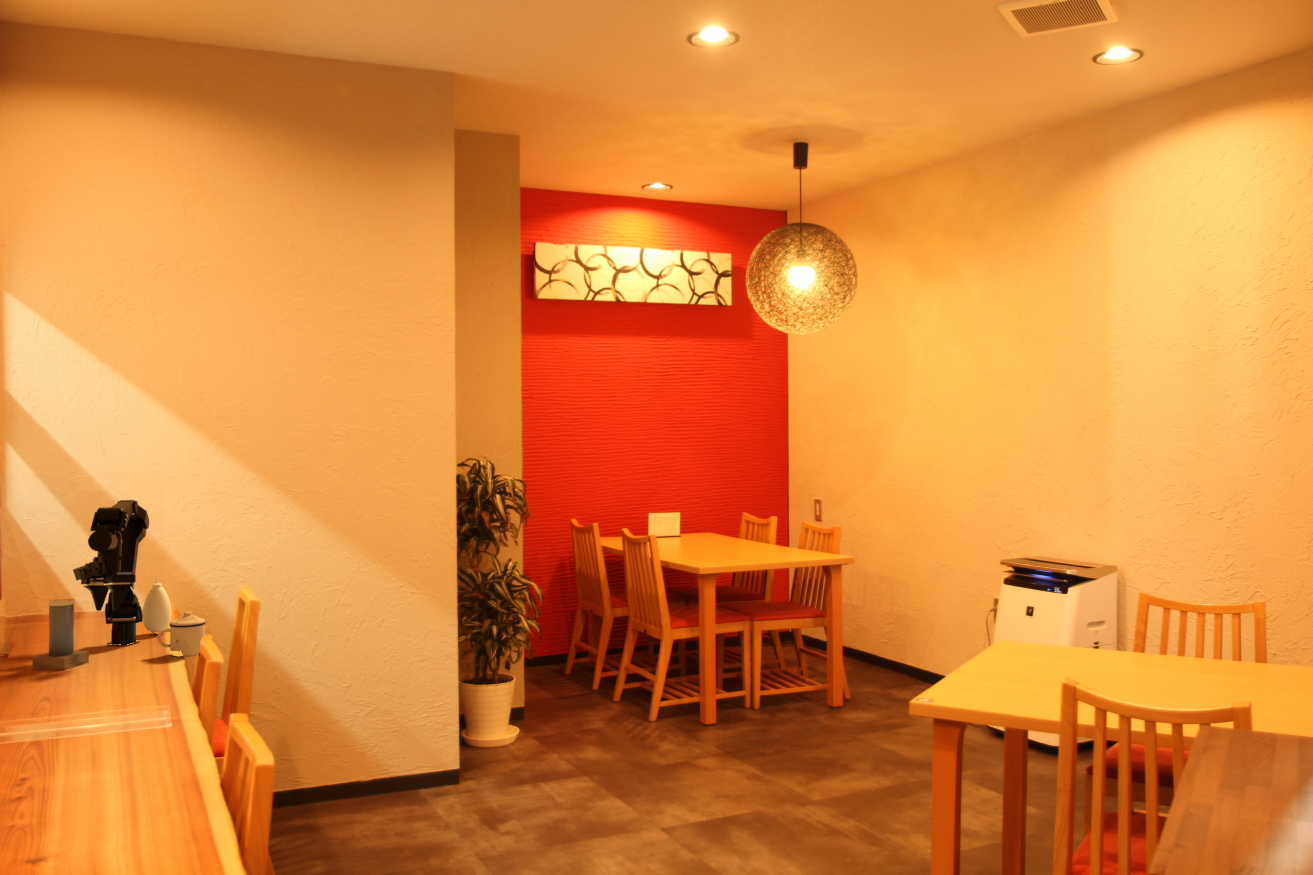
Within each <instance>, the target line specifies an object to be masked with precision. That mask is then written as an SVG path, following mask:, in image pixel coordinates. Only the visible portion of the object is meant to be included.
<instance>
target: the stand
mask: <svg viewBox="0 0 1313 875" xmlns="http://www.w3.org/2000/svg"><path fill="white" fill-rule="evenodd" d="M89 656H90V651H89V650H74V653H73V654H70V655H65V656H49V652H46V653H43V654H41V655H40V654H39V655H36V656H33V657H32V668H34V669H33V670H46V669H47V670H51V671H53V670H55V671H66V670H70V669H72V668H75V667H79V666H82V665H85V664H89V662H90V659H89V658H90V657H89ZM32 668H31V669H32Z"/></svg>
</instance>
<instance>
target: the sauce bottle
mask: <svg viewBox="0 0 1313 875" xmlns="http://www.w3.org/2000/svg"><path fill="white" fill-rule="evenodd" d="M170 601H171V600H170V597H169V594H168V593H167V591H166V590H165V588H164V587H163V584H162V583H161V582H159V576H158V574H157V575H156V583H153V584H152V587H151V588H150V590H149V591H148V593H147V595H146V597H145V600H144V603H143V607H142V615H143V625H144V628H145V629H146V630H147V631H149V633H150V632H152V633H151V634H154V632H160V631H162V630H164V629H166V628H167V629H168V627H169V626H170V622H171V621H172V604H171V602H170Z"/></svg>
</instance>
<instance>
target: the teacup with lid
mask: <svg viewBox="0 0 1313 875" xmlns="http://www.w3.org/2000/svg"><path fill="white" fill-rule="evenodd" d="M206 624H207V623H206V619H204V618H202V617H201V618H200V617H198V616H197V615H193V614H192V611H184V612H183V615H181V616H179V617H178V618H177V619H173V620H170V623H169V626H170V628H167V629H164V630H162V631H160V632H159V634H158V635H157V641H158V643H159V645H160V646H161V647H163V648H170V649H169V650H171V651H179V652H180V650H181V652H182V654H183V656H184V657H183V658H190V657H196V656H200V655H199V652H200V641H201V639H202V637H205V638H206ZM166 632H167V633H170V634H169V636H170V640H169V642H170V644H167V643H166V644H165V643H164V642H163V641H162V640H161V639H162V638H161V635H162V634H164V633H166Z"/></svg>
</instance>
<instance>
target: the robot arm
mask: <svg viewBox="0 0 1313 875" xmlns="http://www.w3.org/2000/svg"><path fill="white" fill-rule="evenodd" d="M149 527H150V518H149V514H148V511H147V510H146V509H144V508H143V507H142V506H140V505H139V502H138V500H135V499H121V500H118V501H117V503H115V504H114V505H112V506H111V507H107V506H106V507H98V508H97V510H96V511H95V512H94V515H93V519H92V522H91V526H90V532H92V533H91V534H90V535H89V537H88V539H87V544H88V546H89V548H90V549H91V550H93V551H95V552H97V556H95V557H93V558H92V561H90V562H88V563H87V562H86V563H85V564H84V565H81V566H79V567H76V568H74V569H72V571H73V574H74V577H75V578H74V579H75V581H76V582H77V581H80V585H83V587H84V588H85V589H87V590H88V591H89V592H90V594H91V596H92V601H93V603H94V607H95V610H96V611H97V612H100V611H102V609H103V607H104V616H105V624H106V625H111V636H110V637H111V638H110V639H111V640H110V642H107V643H106V645H107V644H108V643H109V644H117V645H116V646H119V645H118V644H121V645H127V644H130V643H133V642H136V640H137V638H136V637H137V624H140V623H142V622H143V608H142V607H141V605H140V602H139V597H138V596H137V594H136V593H135V591H134V589H135V588H134V587H135V583H136V580H137V579H136V578H137V575H136V570H137V563H138V562H137V561H138V553H139V544H140V543H141V541H143V539H144V538H145V537H146V536H147V529H149ZM109 590H110V591H109ZM107 596H108V598H107ZM106 598H107V602H106V603H105V601H106ZM104 604H105V605H104ZM143 623H144V622H143Z"/></svg>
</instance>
